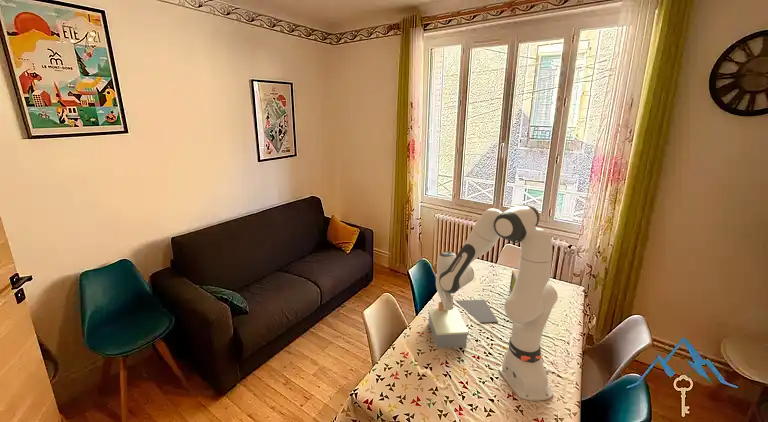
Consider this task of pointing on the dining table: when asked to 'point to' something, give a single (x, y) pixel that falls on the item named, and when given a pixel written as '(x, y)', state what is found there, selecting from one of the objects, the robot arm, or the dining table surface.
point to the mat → (478, 310)
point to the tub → (447, 338)
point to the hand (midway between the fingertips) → (443, 307)
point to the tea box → (513, 280)
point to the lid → (447, 321)
